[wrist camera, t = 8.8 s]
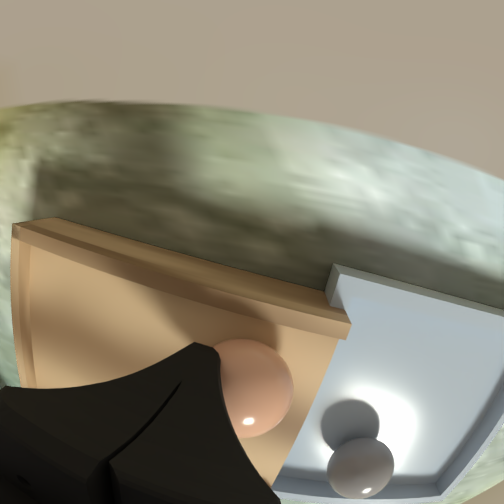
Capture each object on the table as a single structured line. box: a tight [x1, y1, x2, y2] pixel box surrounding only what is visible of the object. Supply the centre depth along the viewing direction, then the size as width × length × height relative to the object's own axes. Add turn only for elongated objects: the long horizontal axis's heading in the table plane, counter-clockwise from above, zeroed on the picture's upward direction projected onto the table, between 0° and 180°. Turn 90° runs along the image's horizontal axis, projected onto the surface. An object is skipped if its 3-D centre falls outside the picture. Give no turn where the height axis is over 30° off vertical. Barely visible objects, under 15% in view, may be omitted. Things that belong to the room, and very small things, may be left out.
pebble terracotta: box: [213, 339, 294, 438], centre depth 10 cm, size 3×3×3 cm
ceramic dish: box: [271, 263, 504, 504], centre depth 13 cm, size 13×13×2 cm
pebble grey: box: [327, 437, 395, 499], centre depth 12 cm, size 3×3×3 cm
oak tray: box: [10, 217, 352, 488], centre depth 13 cm, size 10×14×3 cm
